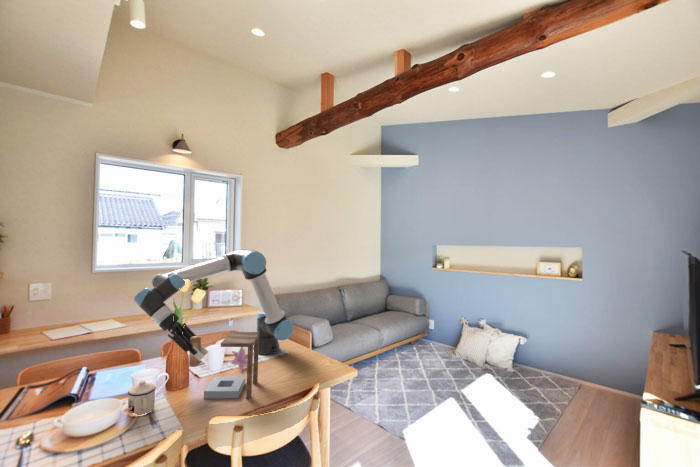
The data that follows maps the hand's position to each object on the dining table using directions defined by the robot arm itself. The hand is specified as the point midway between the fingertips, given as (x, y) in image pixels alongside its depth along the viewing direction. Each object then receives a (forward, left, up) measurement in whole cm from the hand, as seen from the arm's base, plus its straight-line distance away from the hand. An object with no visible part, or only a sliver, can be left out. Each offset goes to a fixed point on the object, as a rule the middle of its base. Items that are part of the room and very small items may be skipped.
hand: (203, 356), depth 147 cm
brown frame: (0, +16, -15) cm, 22 cm away
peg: (0, -4, -4) cm, 5 cm away
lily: (-24, +11, -15) cm, 31 cm away
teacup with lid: (+18, -16, -15) cm, 29 cm away
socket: (0, +10, -15) cm, 18 cm away
